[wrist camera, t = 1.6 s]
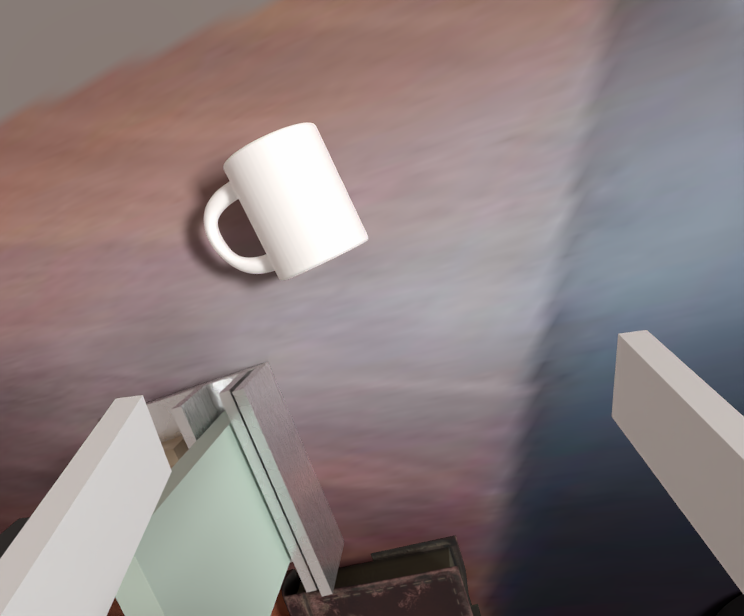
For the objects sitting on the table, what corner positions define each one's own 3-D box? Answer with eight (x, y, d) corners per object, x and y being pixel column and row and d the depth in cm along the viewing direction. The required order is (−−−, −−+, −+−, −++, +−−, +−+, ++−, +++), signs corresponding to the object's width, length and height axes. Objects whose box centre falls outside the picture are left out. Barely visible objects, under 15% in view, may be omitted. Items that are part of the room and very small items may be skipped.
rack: (344, 541, 52) (332, 593, 45) (187, 584, 55) (154, 639, 48) (268, 361, 49) (243, 388, 42) (105, 416, 52) (57, 450, 45)
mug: (323, 128, 44) (302, 114, 36) (373, 236, 45) (363, 244, 38) (203, 191, 46) (159, 190, 38) (255, 291, 48) (223, 310, 40)
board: (301, 530, 51) (226, 737, 32) (278, 537, 52) (191, 744, 32) (245, 404, 49) (128, 543, 29) (223, 411, 49) (92, 553, 30)
